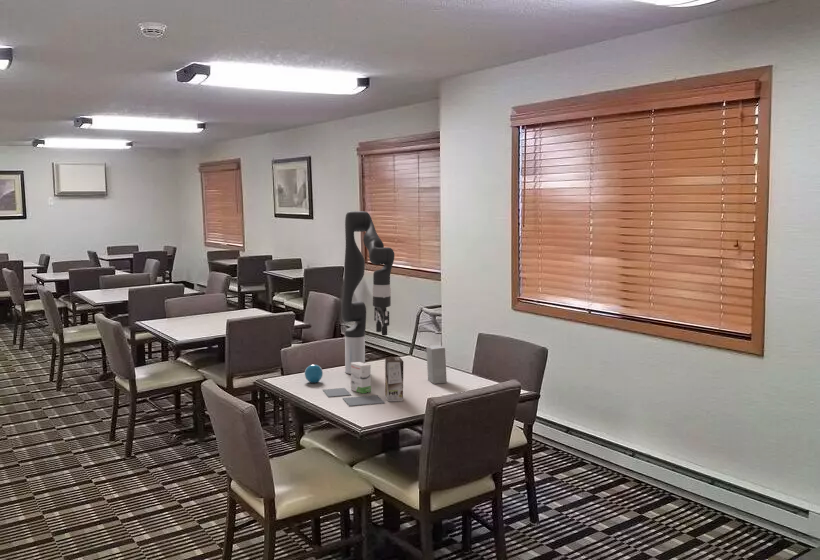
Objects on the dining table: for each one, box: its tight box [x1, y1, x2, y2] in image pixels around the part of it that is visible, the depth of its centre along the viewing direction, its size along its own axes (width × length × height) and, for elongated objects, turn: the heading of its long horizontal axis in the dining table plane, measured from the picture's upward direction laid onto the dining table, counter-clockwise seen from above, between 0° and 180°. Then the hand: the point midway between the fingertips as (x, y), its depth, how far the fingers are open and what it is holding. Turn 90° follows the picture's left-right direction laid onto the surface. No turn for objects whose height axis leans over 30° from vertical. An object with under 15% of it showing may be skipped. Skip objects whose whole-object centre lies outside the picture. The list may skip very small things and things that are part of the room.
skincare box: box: [425, 344, 448, 385], centre depth 304 cm, size 8×7×16 cm
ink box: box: [350, 362, 372, 394], centre depth 288 cm, size 9×5×12 cm, turn 39°
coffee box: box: [384, 356, 404, 402], centre depth 277 cm, size 9×6×16 cm
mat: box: [322, 387, 386, 407], centre depth 280 cm, size 26×20×1 cm
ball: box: [304, 364, 324, 384], centre depth 302 cm, size 8×8×8 cm
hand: (381, 333), depth 289 cm, fingers open, 7 cm apart
